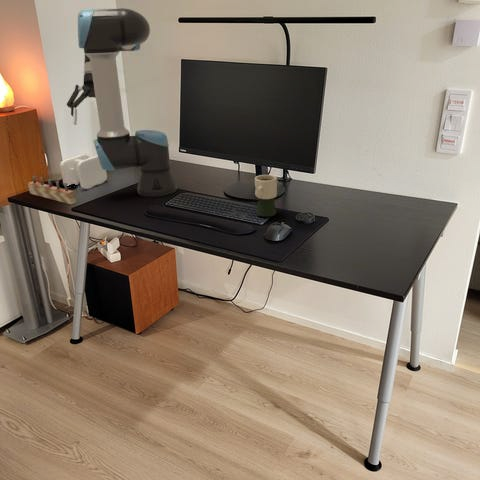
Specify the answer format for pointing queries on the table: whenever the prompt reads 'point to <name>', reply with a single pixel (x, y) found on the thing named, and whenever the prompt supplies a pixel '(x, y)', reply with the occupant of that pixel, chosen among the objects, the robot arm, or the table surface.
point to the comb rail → (52, 191)
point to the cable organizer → (83, 171)
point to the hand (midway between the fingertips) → (91, 124)
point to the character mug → (266, 194)
